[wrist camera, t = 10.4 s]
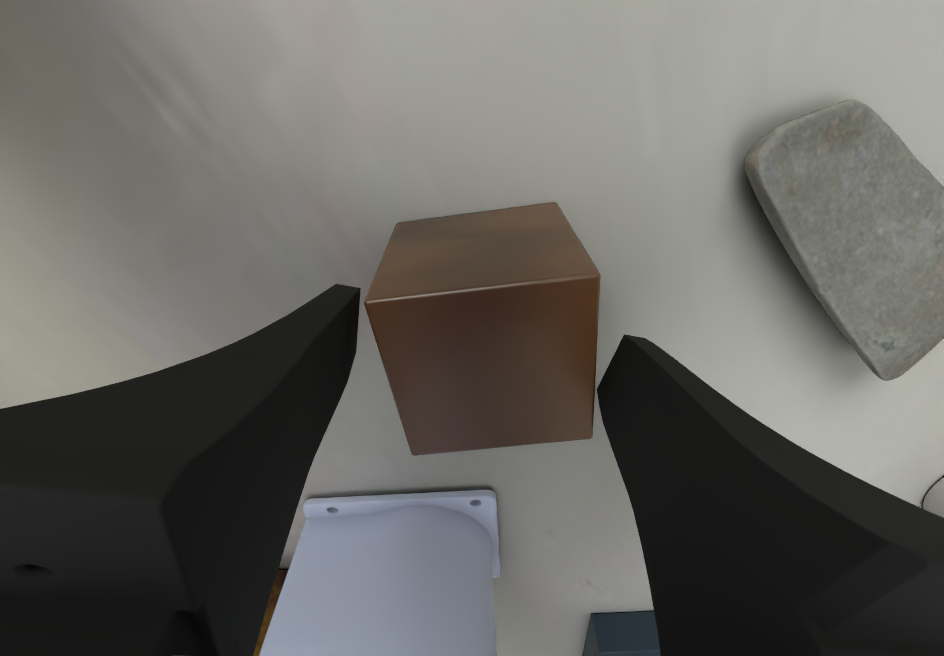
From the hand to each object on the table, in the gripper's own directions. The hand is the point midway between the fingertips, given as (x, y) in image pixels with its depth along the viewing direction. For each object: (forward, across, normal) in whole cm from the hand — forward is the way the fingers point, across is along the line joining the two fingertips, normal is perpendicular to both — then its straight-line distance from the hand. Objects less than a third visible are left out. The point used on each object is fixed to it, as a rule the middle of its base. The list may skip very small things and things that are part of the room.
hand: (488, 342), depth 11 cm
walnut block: (+3, 0, 0) cm, 3 cm away
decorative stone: (+3, -12, -6) cm, 14 cm away
